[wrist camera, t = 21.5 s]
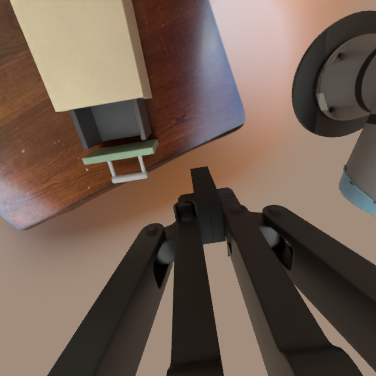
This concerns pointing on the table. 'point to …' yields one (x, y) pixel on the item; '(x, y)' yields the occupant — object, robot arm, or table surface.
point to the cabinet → (85, 50)
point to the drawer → (115, 133)
